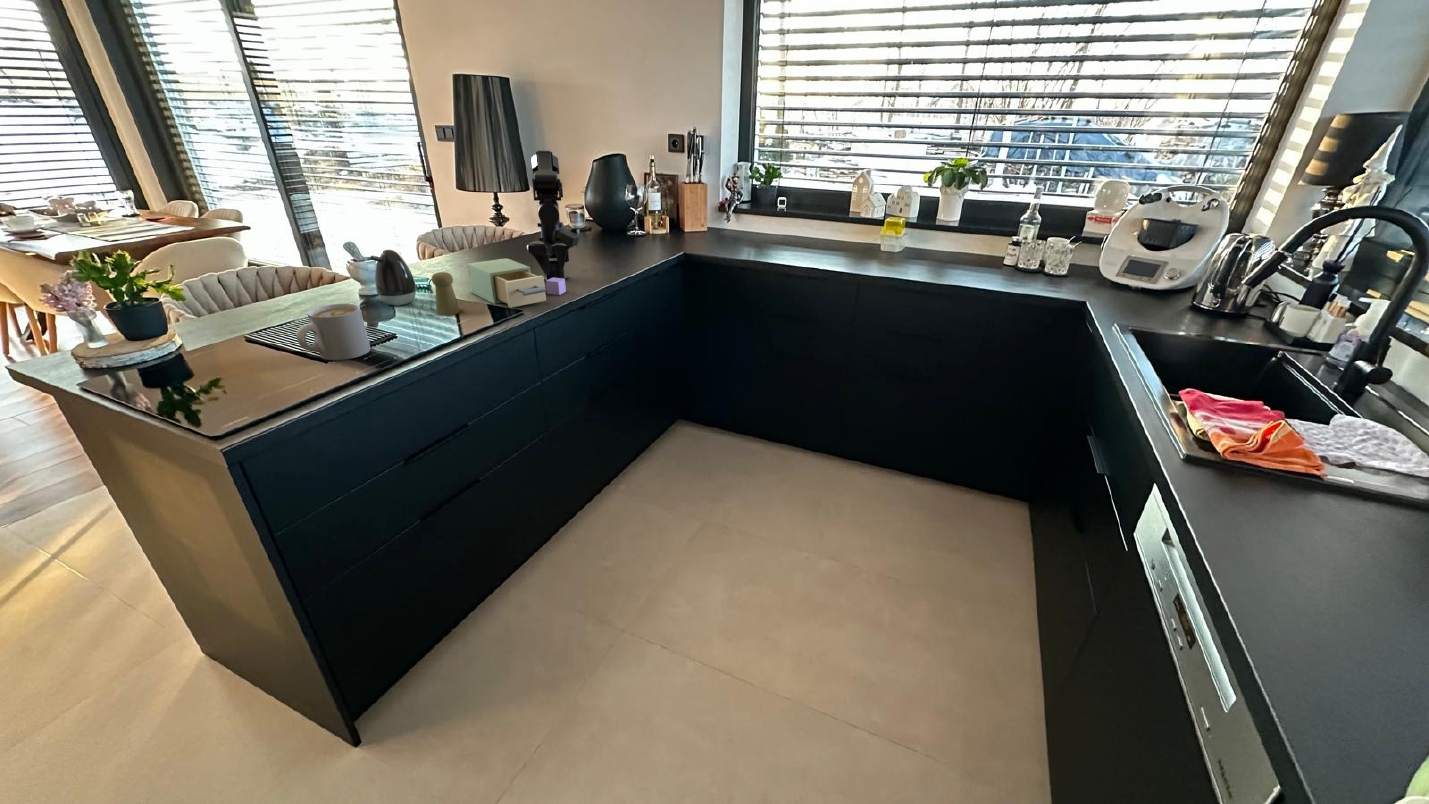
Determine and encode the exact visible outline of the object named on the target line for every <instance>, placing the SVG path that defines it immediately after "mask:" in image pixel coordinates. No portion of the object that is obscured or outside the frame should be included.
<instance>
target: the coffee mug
mask: <svg viewBox="0 0 1429 804" xmlns="http://www.w3.org/2000/svg"><path fill="white" fill-rule="evenodd" d="M306 316H307V318H308V320H309V323H306V324H303V325H301V326H300V327H298V329H297V330H296V341H297V343H298V345H299V346H300V347H301V348H302V349H304V350H305V351H307V352H314V353H315V352H316V353H319V357H320V358H321V359H323V360H326V361H327V360H328V361H345V360H351V359H355V358H359V357H362V356H364V355H366V354H368V353H369V352H370V351H371V349H372V347H371V345H370V341H369V337H368V333H367V330H366V325H365V321H364V318H363V314H362V310H361V307H360V306H359V305H358V304H355V303H332V304H331V303H330V304H326V305H325V304H324V305H320V306H316V307H314V308H311V309H309V310H308V311H307V312H306ZM309 332H312V334H313V337H314V342H313V343H312V344H309V343H308V342H307V339H306V336H307V334H308V333H309Z"/></svg>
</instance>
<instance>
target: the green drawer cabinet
mask: <svg viewBox="0 0 1429 804" xmlns="http://www.w3.org/2000/svg"><path fill="white" fill-rule="evenodd" d="M467 269H468V273H469V280H470V287H471V292H472V294H474V295H476V296H478V297H480V298H482V299H484V300H485V301H488V302H489V303H492V304H494V305H497V304H502V303H504V302H503V301H501V300H499V299H497V298H496V294H495V288H494V281H493V276H494V275H500V274H506V273H512V272H519V271H527V272H529V273H532V272H531V267H530V266H529V265H525V264H523V263H522V262H518V261H515V260H513V259H510V258H507V257H506V258H498V259H491V260H484V261H475V262H470V263H467Z"/></svg>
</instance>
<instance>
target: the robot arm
mask: <svg viewBox="0 0 1429 804" xmlns="http://www.w3.org/2000/svg"><path fill="white" fill-rule="evenodd" d="M530 160H531V168H532V174H534V177H532V178H531V180H532V181H531V182H532V192H533V201H537V203H538V204H537V205H538V207H537V208H538V211H537V216H538V219H539V222H537V227H538V228H540V234H541V236H539V237H538V240H534V241H531V242H529V243H528V244H527V245H526V250H527V254H530V255H531V256H532V257H533V258H534V259H535V261H536V263H537V264H538V265H539V267H540V268H541V270H542V272H543V273H544V275H545V277H544V282H546V280H549V279H551V278H562V279H565V281H566V280H568V279H569V276H568V275H565V265H566V263H568V262H570V255H569V250H570V249H572V248H574V247H576V246H578V243H579V241H580V240H581V239H582V237H581V231H580V228H577V227H572V228H571V229H570V228H565V224H564V222H562V221H560V208H559V207H560V206H559V202H561V201H562V198H564V191H563V183H562V181H561V179H560V178H558V175H560V165H559V164H560V163H559V158H558V156H556V155H554V154H553V151H551V150H535V154H534V155H533V156H531V159H530ZM558 201H559V202H558Z"/></svg>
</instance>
